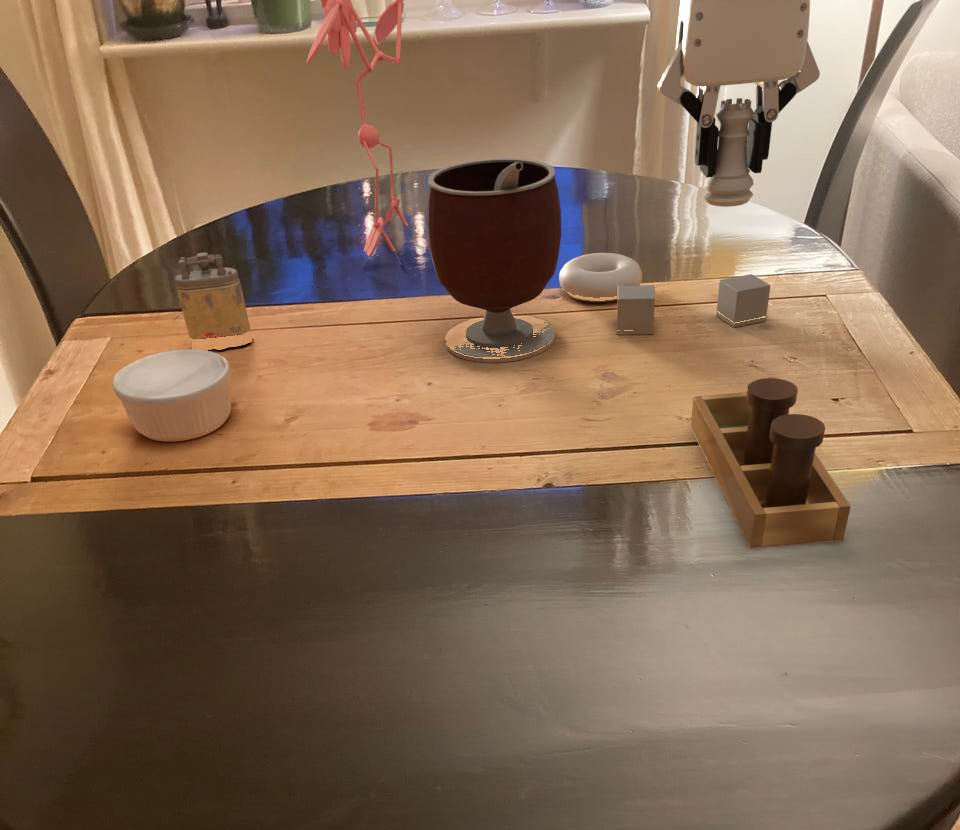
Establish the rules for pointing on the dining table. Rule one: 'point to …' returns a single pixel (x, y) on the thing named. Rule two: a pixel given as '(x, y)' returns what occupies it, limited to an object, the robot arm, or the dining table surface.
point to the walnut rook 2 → (792, 458)
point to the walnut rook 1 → (765, 416)
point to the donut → (599, 275)
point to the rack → (763, 481)
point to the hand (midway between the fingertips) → (730, 169)
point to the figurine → (338, 27)
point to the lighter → (211, 298)
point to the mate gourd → (495, 247)
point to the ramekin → (176, 394)
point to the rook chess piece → (731, 157)
